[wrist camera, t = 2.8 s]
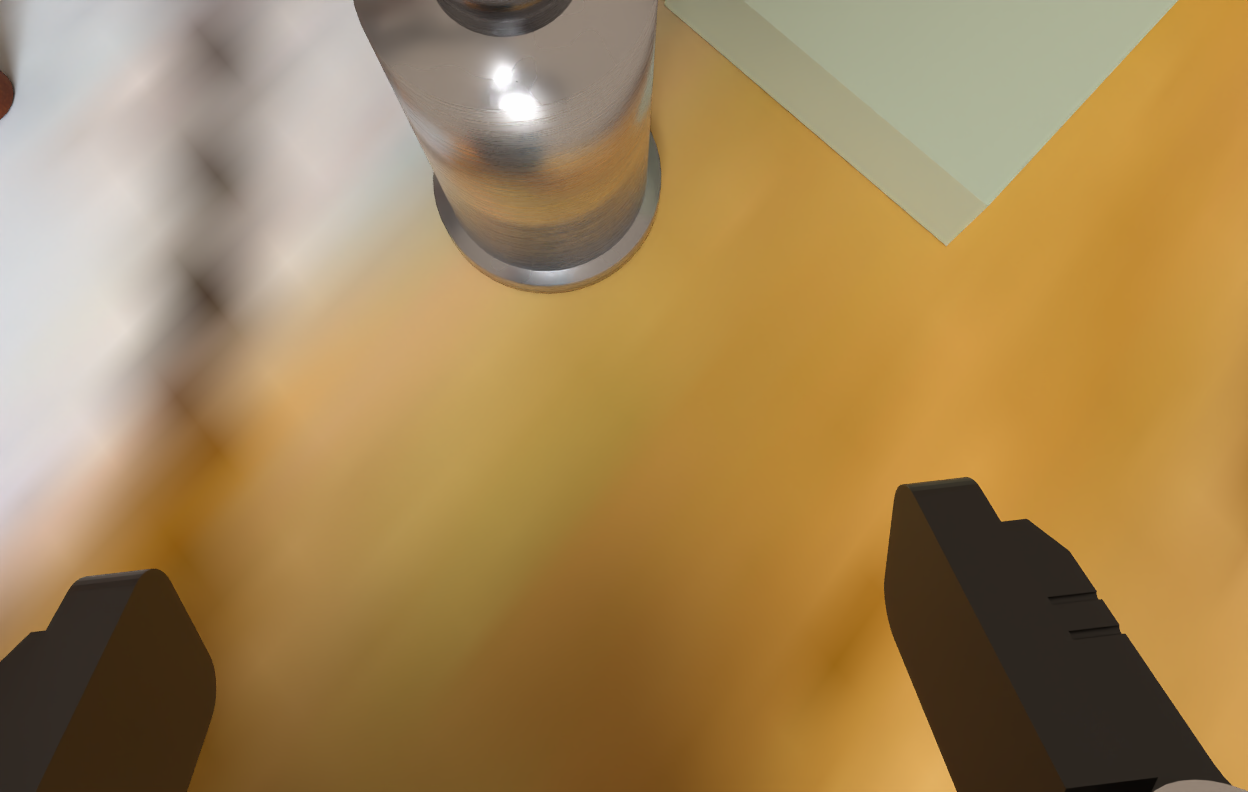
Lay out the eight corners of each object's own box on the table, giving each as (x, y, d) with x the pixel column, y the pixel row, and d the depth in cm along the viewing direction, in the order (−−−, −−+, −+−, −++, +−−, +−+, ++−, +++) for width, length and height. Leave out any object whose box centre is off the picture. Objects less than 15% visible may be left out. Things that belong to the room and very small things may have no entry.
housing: (393, 190, 26) (226, -73, 15) (547, 43, 27) (494, -308, 16) (551, 339, 26) (496, 174, 15) (705, 182, 26) (764, -86, 15)
